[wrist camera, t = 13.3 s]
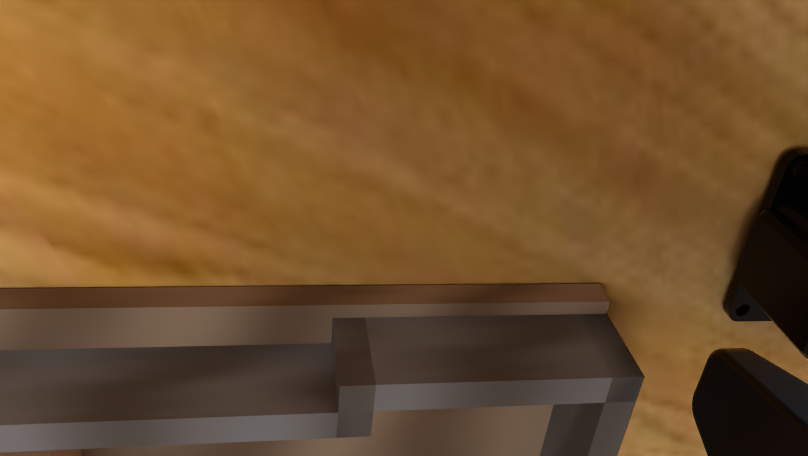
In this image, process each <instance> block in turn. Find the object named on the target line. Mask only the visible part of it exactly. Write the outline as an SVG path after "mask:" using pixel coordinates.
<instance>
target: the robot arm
mask: <svg viewBox="0 0 808 456" xmlns="http://www.w3.org/2000/svg"><path fill="white" fill-rule="evenodd" d="M799 162H801V163H800V165H799V166H798V167H797V168H795V169H793V168H794V167H795V165H796V164H798V163H799ZM741 305H742V306H741ZM739 306H741V307H739ZM738 307H739V308H738ZM723 309H724V311H725V312H726V314H727V315H728V316H729V317H730V318H731V319H732V320H733V321H773V322H774V323H775V324H776V325H777V326H778V328H779V329H780V330H781V331H782V332H783V333H784V334H785V336H786V337H787V338H788V339H789V340H790V341H791V342H792V343H793V345H794V346H795V347H796V348H797V349H798V350H799V351H800V353H801V354H802V355H803V356H804V357H806V358H808V149H803V148H798V149H793V150H791V151H789V152H787V153H786V154H785V155H784V156H783V157H782V158H781V160H780V162H779V164H778V166H777V169H776V171H775V174H774V176H773V179H772V182H771V184H770V187H769V189H768V192H767V194H766V197H765V199H764V202H763V205H762V207H761V210H760V212H759V215H758V217H757V220H756V222H755V225H754V228H753V230H752V233H751V235H750V238H749V240H748V243H747V245H746V248H745V251H744V253H743V256H742V258H741V261H740V263H739V266H738V268H737V271H736V274H735V276H734V279H733V281H732V284H731V286H730V289H729V291H728V294H727V297H726V299H725V302H724V306H723ZM692 410H693V415H694V419H695V422H696V424H697V427H698V430H699V433H700V436H701V438H702V441H703V444H704V447H705V449H706V452H707V455H708V456H808V384H807V383H805V382H803V381H802V380H800V379H798V378H797V377H795V376H793V375H791V374H790V373H788V372H786V371H785V370H783V369H781V368H780V367H778V366H776V365H775V364H773V363H771V362H770V361H768V360H766V359H765V358H763V357H761V356H759V355H758V354H756V353H754V352H753V351H751V350H748V349H744V348H729V349H717V350H715V351H714V352H713V353H711V354H710V356H709V358H708V360H707V363H706V365H705V368H704V370H703V373H702V375H701V378H700V380H699V383H698V385H697V388H696V390H695V393H694V396H693V401H692Z"/></svg>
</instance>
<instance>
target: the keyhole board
mask: <svg viewBox="0 0 808 456" xmlns="http://www.w3.org/2000/svg"><path fill="white" fill-rule="evenodd" d="M609 305H610V300H609V299H608V297H607V295H606V294H605V292H604V290H603V289H602V287H601V286H600V284H485V285H365V286H245V287H125V288H5V289H0V452H23V451H46V450H69V449H81V451H82V456H617V455H618V452H619V449H620V446H621V443H622V440H623V437H624V434H625V431H626V429H627V426H628V423H629V420H630V417H631V414H632V411H633V408H634V405H635V402H636V400H637V397H638V394H639V391H640V388H641V385H642V382H643V379H644V375H643V373H642V372H641V370H640V368H639V367H638V365H637V363H636V362H635V360H634V358H633V357H632V355H631V353H630V352H629V350H628V348H627V347H626V345H625V343H624V342H623V340H622V338H621V337H620V335H619V333H618V332H617V330H616V328H615V327H614V325H613V323H612V322H611V320H610V318H609V317H608V315H607V311H608V308H609Z"/></svg>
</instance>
